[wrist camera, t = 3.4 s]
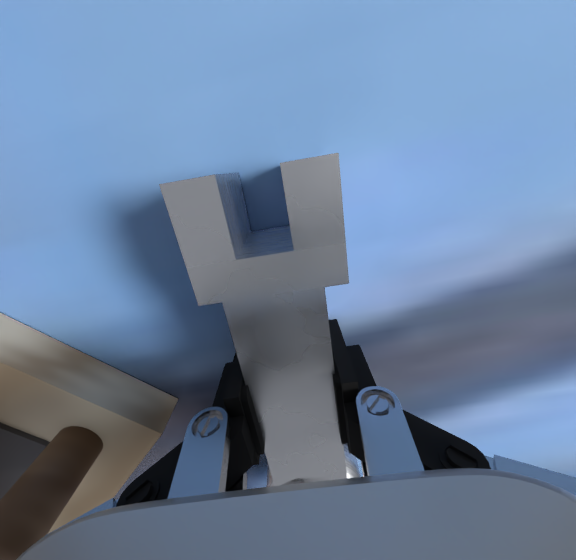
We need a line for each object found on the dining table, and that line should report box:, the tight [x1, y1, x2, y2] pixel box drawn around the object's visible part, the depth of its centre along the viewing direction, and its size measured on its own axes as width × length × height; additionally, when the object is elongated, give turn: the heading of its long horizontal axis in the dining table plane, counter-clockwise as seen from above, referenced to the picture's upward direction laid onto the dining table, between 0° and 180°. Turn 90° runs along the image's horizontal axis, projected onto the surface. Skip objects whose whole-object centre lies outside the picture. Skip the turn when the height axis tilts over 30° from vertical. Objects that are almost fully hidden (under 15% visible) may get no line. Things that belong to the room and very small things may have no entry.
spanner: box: [159, 153, 361, 487], centre depth 11 cm, size 16×4×4 cm, turn 9°
